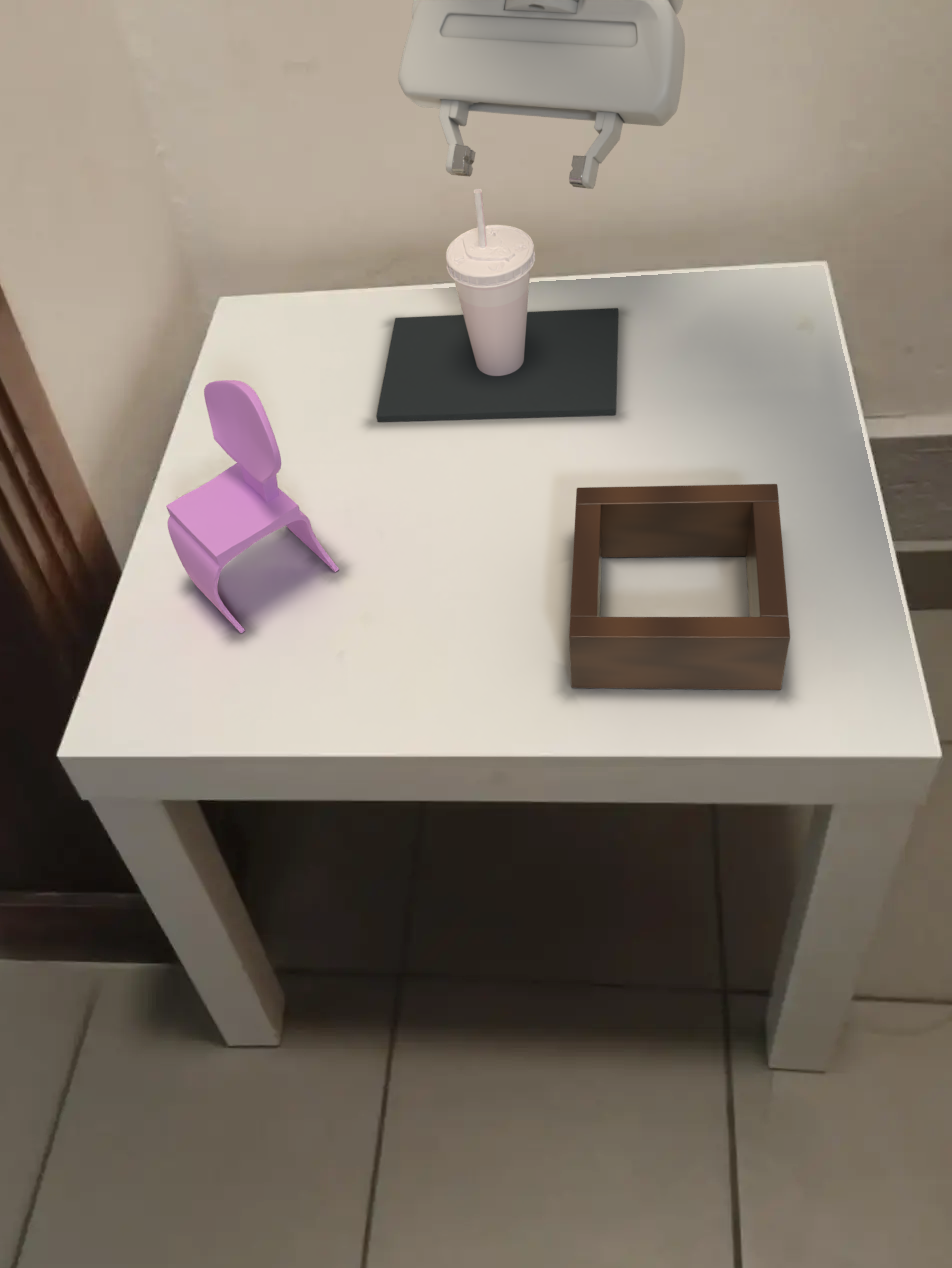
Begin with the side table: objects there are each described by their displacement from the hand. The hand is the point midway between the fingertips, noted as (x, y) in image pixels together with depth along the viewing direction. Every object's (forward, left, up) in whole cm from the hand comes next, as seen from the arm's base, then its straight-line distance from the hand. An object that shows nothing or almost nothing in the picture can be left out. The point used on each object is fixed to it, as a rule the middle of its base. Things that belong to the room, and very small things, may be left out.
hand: (518, 180), depth 88 cm
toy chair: (+17, +27, -13) cm, 34 cm away
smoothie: (+2, +5, -12) cm, 13 cm away
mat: (+2, +5, -12) cm, 14 cm away
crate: (-11, +30, -12) cm, 34 cm away
